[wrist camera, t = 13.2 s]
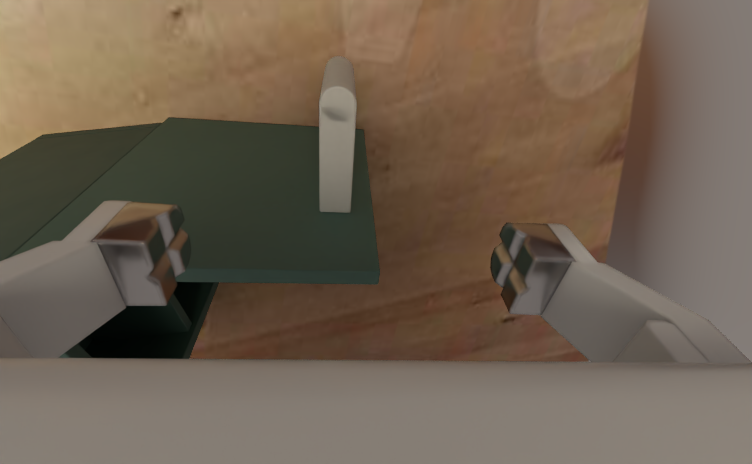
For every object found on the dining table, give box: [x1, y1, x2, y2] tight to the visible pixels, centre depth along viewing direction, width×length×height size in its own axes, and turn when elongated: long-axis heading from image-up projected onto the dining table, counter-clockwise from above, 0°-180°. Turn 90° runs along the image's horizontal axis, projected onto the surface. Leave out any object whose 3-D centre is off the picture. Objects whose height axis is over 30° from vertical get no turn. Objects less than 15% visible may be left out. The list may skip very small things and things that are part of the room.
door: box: [11, 56, 380, 284], centre depth 19 cm, size 7×15×16 cm, turn 85°
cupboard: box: [0, 123, 219, 359], centre depth 25 cm, size 9×15×17 cm, turn 4°
